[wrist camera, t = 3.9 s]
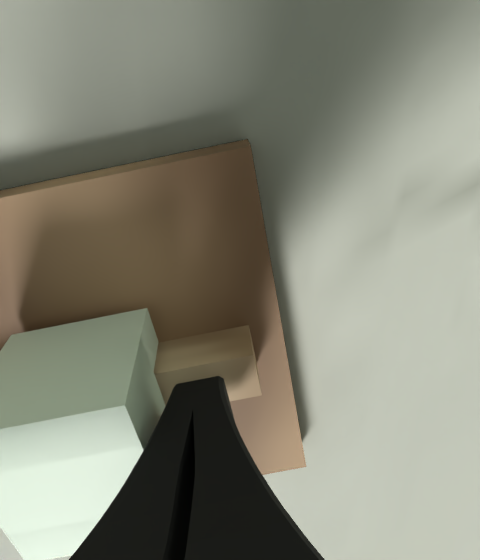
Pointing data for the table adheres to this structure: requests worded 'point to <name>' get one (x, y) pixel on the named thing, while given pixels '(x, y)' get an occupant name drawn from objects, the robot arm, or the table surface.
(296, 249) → the table surface
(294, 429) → the track board
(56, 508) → the block
